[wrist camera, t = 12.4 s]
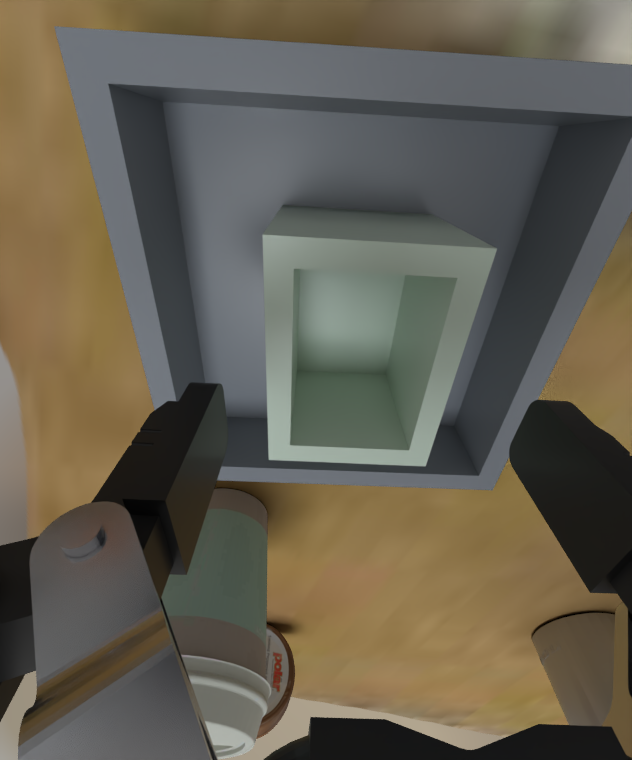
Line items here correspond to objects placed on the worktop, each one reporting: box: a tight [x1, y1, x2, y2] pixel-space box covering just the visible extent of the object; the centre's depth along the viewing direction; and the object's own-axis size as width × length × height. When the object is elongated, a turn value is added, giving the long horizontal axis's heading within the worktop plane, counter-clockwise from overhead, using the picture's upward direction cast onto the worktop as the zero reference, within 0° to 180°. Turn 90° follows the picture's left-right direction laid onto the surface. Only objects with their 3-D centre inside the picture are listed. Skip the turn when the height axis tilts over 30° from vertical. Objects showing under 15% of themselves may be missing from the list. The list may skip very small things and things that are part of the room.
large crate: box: [54, 26, 632, 490], centre depth 15 cm, size 16×16×4 cm
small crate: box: [262, 205, 497, 466], centre depth 13 cm, size 6×8×6 cm
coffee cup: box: [162, 488, 271, 759], centre depth 21 cm, size 8×9×12 cm
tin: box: [256, 624, 295, 739], centre depth 32 cm, size 15×3×8 cm, turn 77°
